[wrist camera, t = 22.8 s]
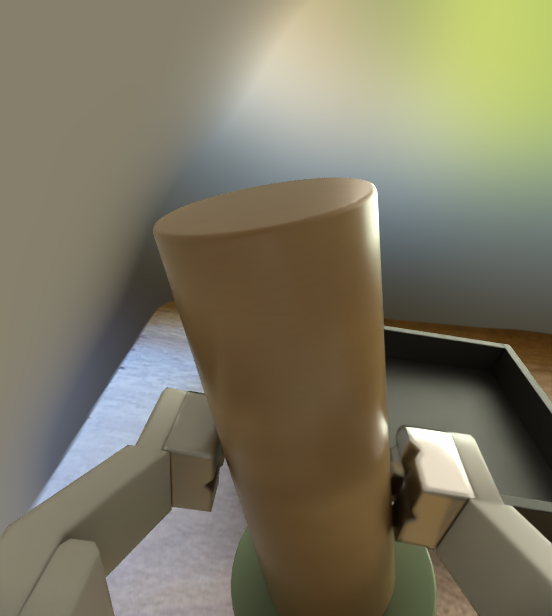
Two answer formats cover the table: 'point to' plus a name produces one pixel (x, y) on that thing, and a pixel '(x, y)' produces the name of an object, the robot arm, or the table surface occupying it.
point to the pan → (477, 410)
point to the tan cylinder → (298, 393)
